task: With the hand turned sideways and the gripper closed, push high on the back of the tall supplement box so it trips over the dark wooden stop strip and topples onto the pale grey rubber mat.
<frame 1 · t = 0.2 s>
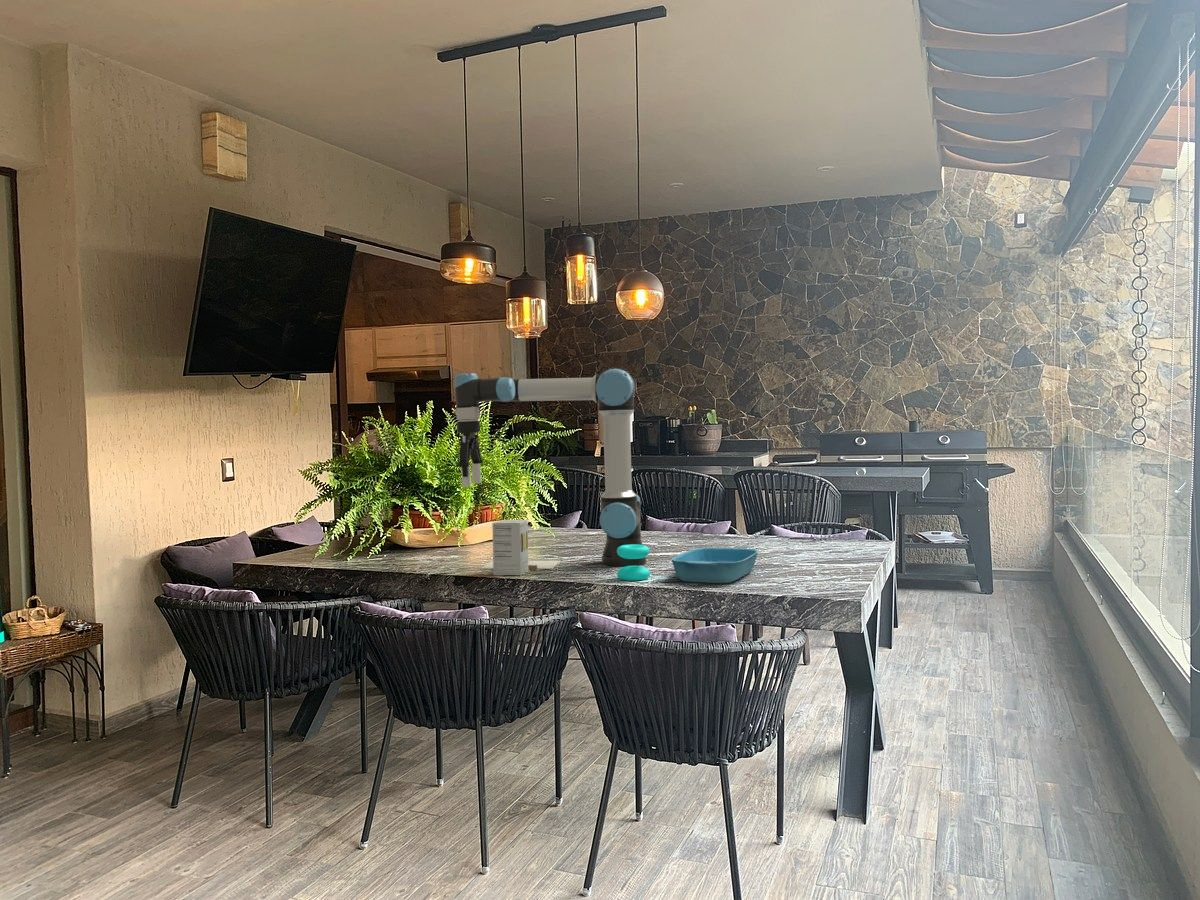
hand: (471, 485, 310), 28 cm above the table, tool pointing down, fingers open, 13 cm apart
casserole dish: (715, 577, 290), on the table
donuts: (633, 579, 287), on the table
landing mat: (521, 565, 315), on the table
supplement box: (511, 574, 300), on the table
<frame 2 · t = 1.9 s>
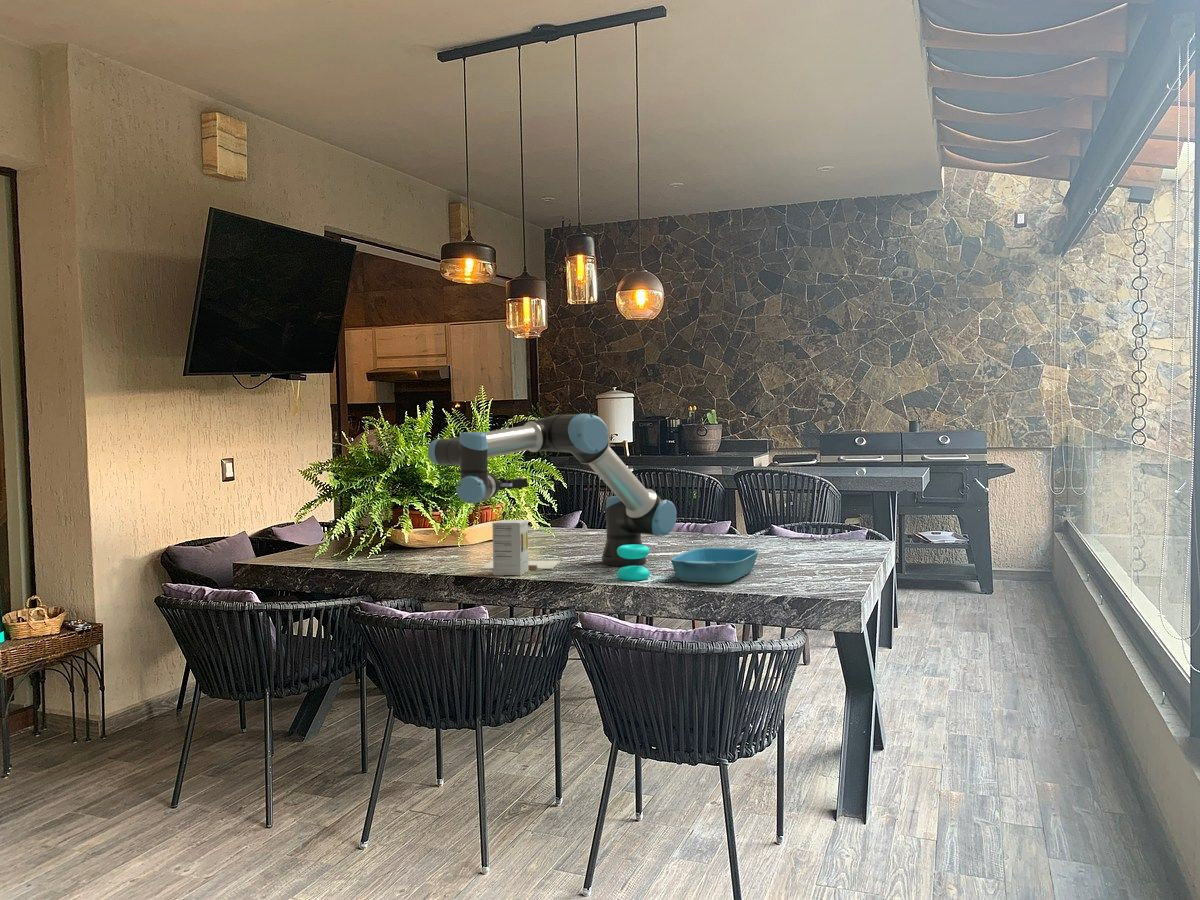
hand: (501, 481, 289), 30 cm above the table, tool horizontal, fingers open, 12 cm apart
nothing on the table moved.
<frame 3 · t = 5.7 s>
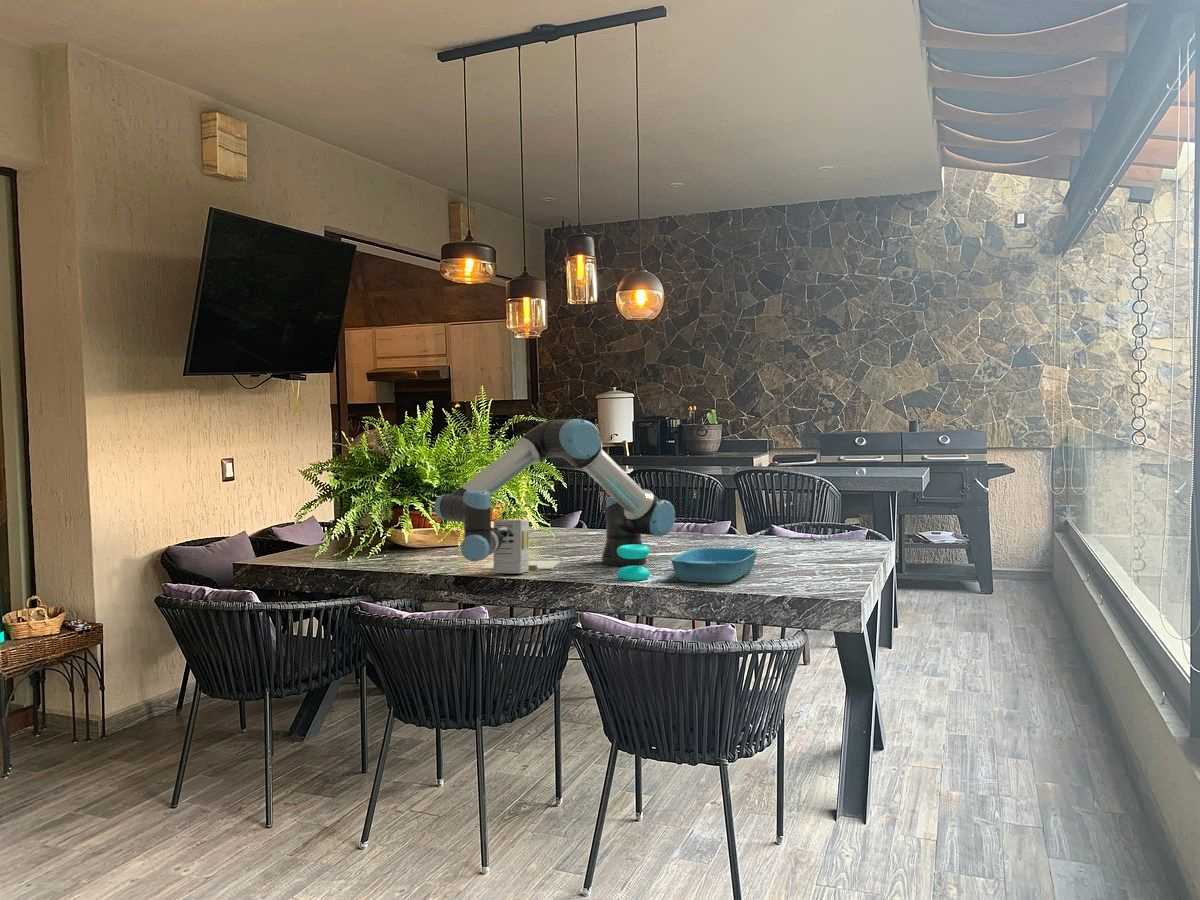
hand: (504, 531, 296), 14 cm above the table, tool horizontal, fingers closed
supplement box: (511, 572, 300), on the table, touching gripper
everything else where it was.
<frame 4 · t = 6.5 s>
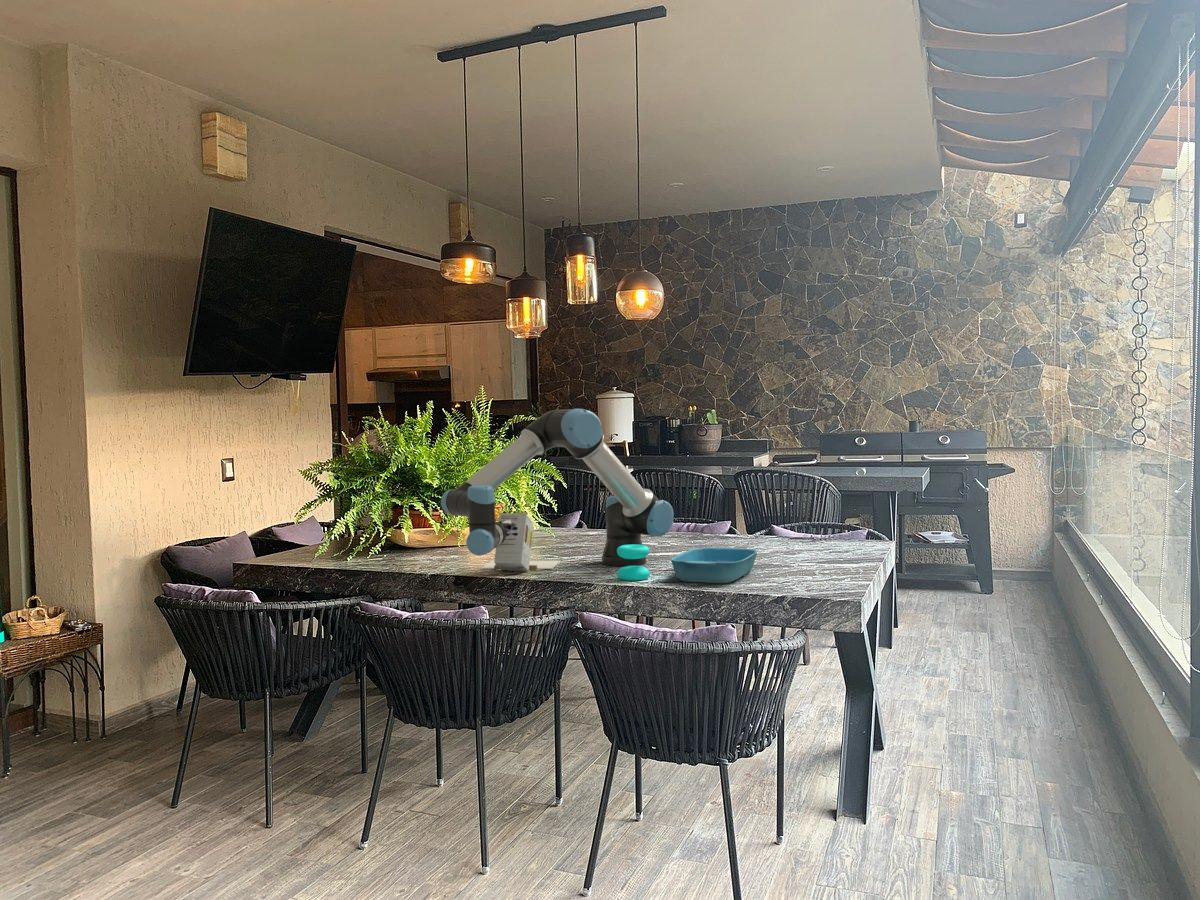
hand: (508, 524, 301), 16 cm above the table, tool horizontal, fingers closed
supplement box: (511, 567, 301), point 2 cm above the table, touching gripper
everything else where it was.
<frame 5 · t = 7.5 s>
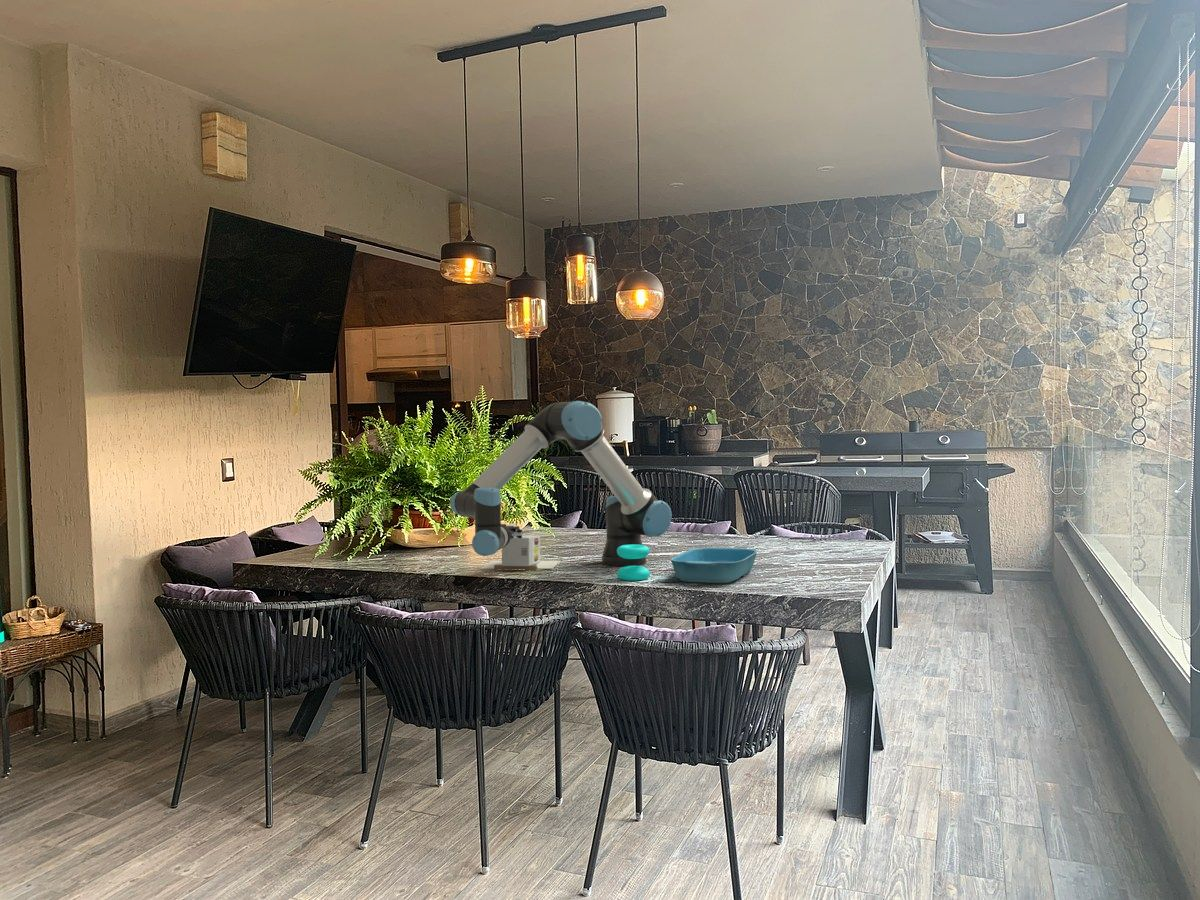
hand: (513, 527, 306), 14 cm above the table, tool horizontal, fingers closed
supplement box: (515, 552, 304), point 6 cm above the table, touching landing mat
everything else where it was.
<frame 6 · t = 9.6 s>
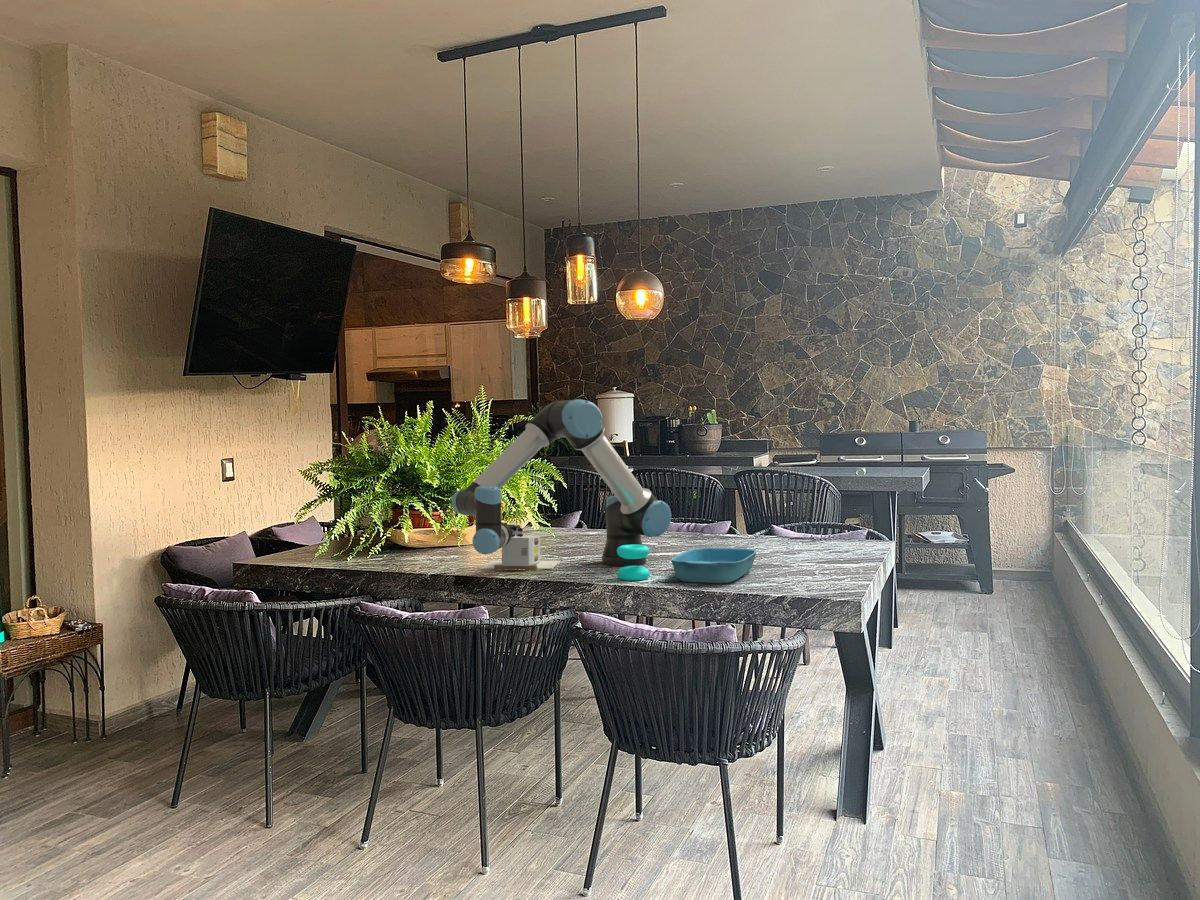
hand: (514, 526, 307), 14 cm above the table, tool horizontal, fingers closed
nothing on the table moved.
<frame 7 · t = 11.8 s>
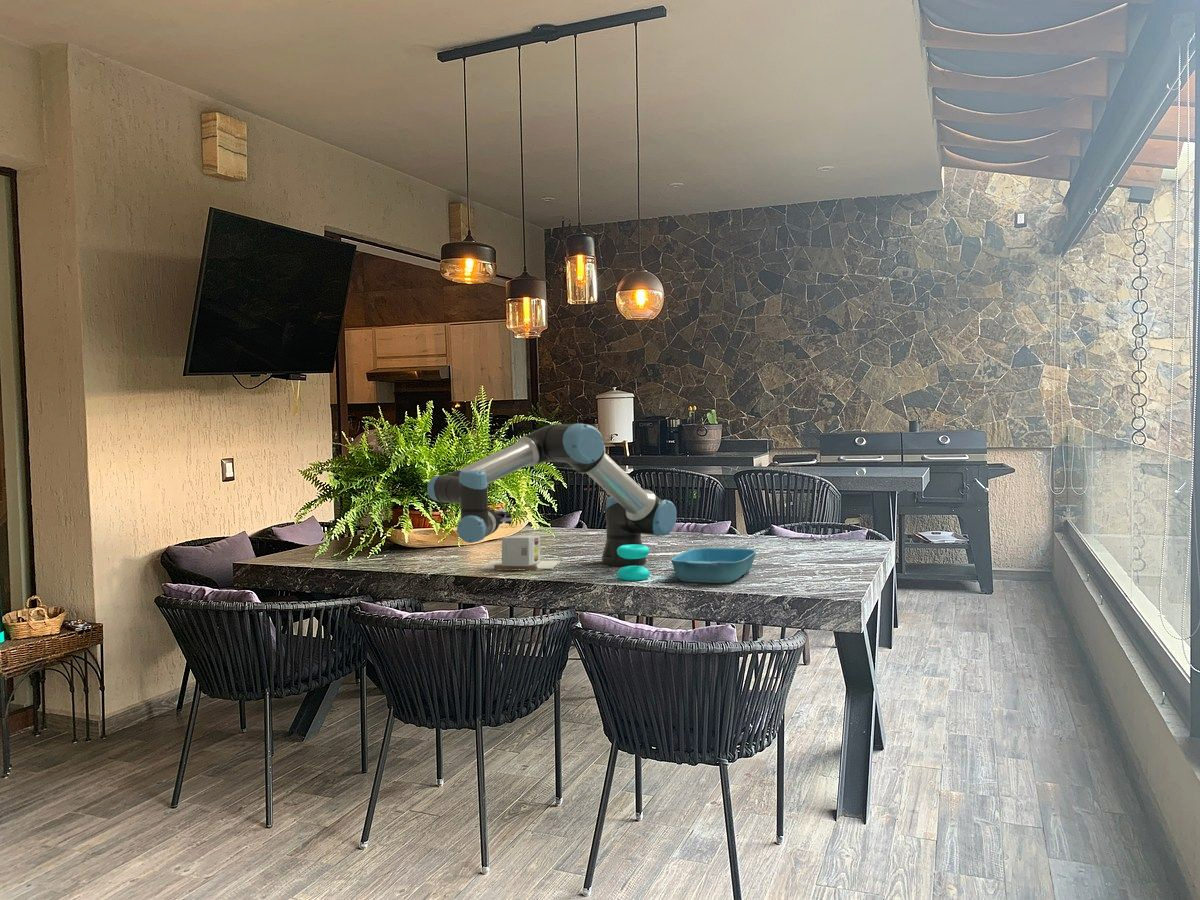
hand: (502, 513, 291), 20 cm above the table, tool horizontal, fingers closed
nothing on the table moved.
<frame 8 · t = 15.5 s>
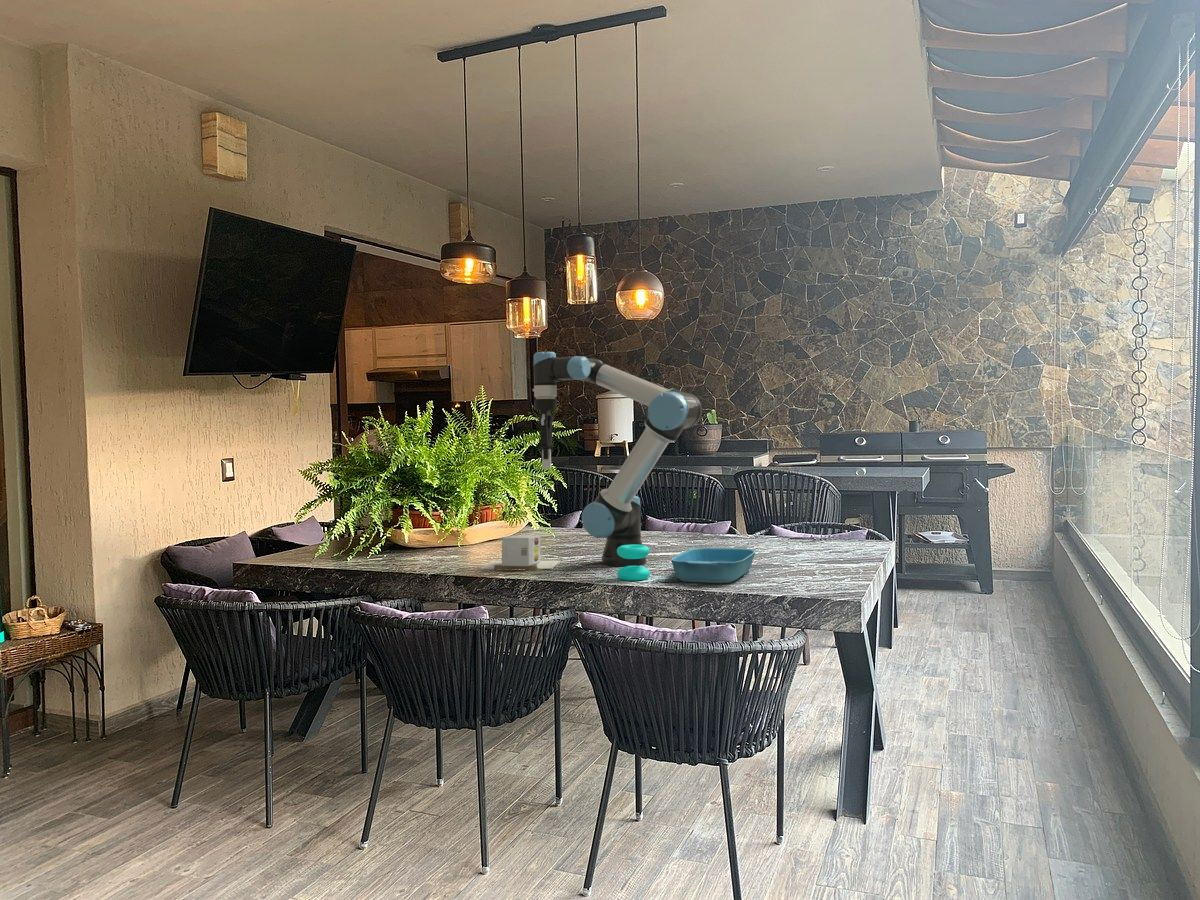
hand: (546, 468, 315), 32 cm above the table, tool pointing down, fingers closed
nothing on the table moved.
at the end: supplement box tilted 94°; supplement box inside the target area (2.6 cm from its centre), point 6.4 cm above the table; supplement box touching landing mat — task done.
